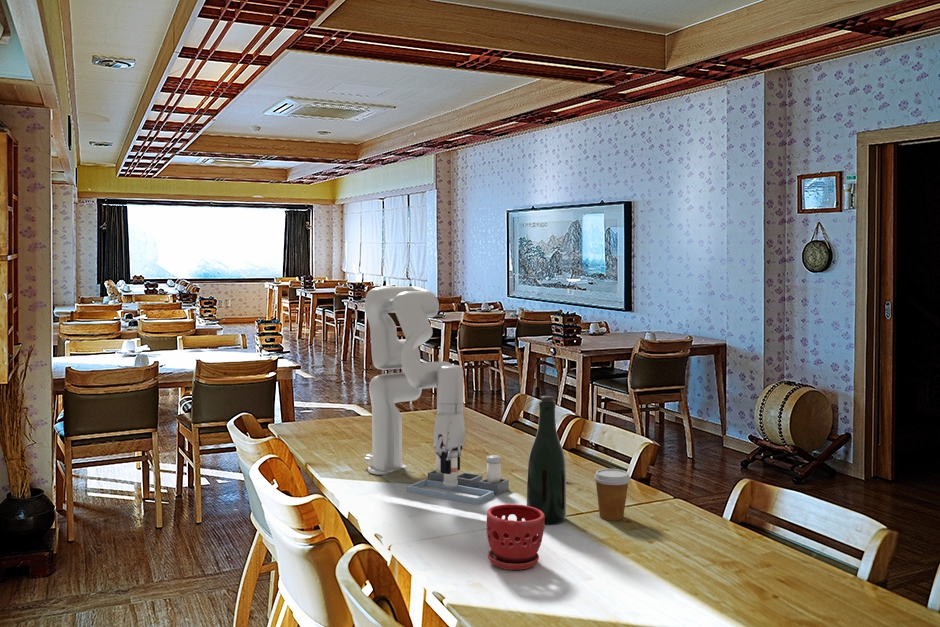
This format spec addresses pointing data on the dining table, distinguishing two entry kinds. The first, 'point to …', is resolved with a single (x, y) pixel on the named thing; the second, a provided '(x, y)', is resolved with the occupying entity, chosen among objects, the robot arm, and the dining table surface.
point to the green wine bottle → (547, 467)
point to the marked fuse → (452, 471)
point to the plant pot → (514, 536)
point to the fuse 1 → (438, 465)
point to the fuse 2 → (494, 469)
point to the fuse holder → (474, 482)
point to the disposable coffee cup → (611, 492)
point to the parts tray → (416, 489)
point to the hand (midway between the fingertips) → (450, 470)
